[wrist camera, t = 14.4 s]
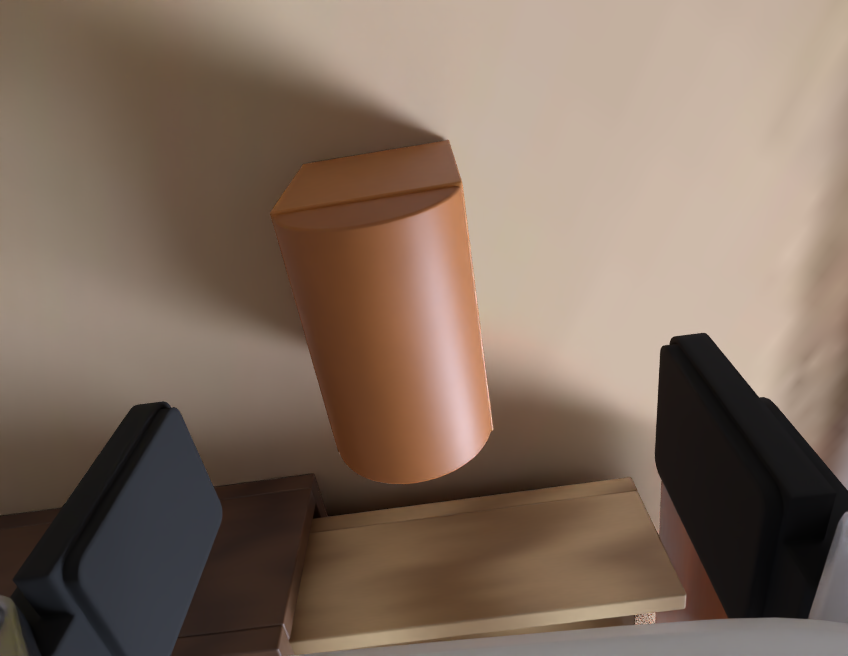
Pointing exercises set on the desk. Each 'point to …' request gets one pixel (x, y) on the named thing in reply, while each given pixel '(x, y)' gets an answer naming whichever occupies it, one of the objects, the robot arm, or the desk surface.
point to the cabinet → (223, 567)
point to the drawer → (497, 569)
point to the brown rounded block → (389, 308)
